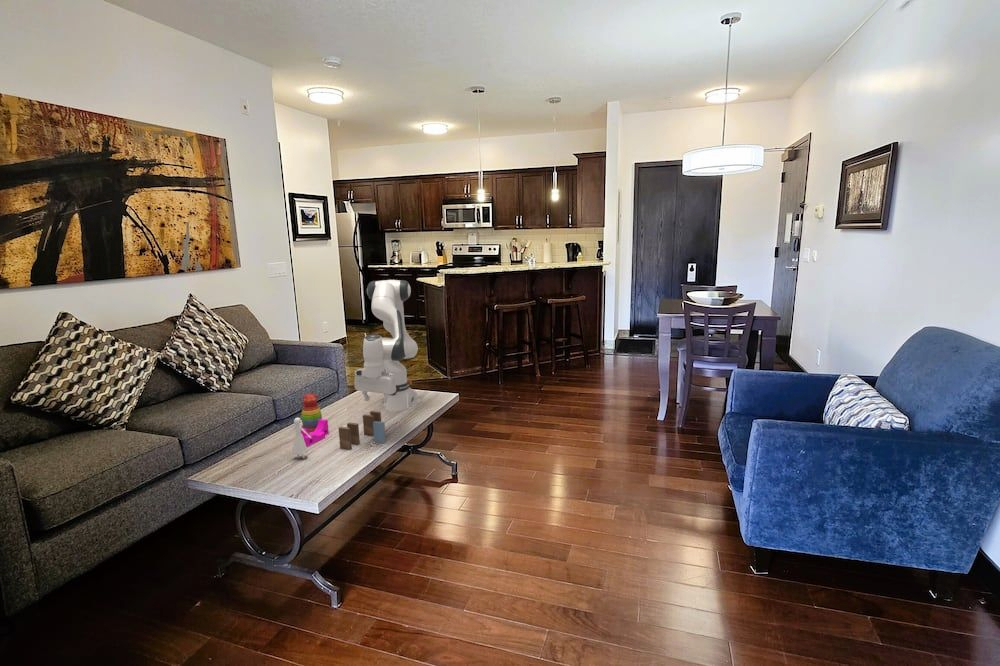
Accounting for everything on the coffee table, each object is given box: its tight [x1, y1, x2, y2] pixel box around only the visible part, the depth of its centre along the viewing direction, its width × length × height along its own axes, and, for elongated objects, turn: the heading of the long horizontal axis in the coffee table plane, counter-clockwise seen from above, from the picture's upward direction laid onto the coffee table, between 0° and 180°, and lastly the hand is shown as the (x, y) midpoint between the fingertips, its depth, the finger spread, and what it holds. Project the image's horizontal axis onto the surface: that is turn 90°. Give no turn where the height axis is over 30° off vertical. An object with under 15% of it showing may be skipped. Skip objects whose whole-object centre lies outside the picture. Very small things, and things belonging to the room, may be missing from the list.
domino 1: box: [338, 426, 353, 451], centre depth 208 cm, size 2×5×10 cm, turn 68°
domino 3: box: [362, 414, 374, 437], centre depth 223 cm, size 2×5×10 cm, turn 68°
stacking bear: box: [300, 393, 323, 433], centre depth 232 cm, size 11×10×18 cm
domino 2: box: [346, 422, 361, 446], centre depth 213 cm, size 2×5×10 cm, turn 68°
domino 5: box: [373, 421, 387, 444], centre depth 214 cm, size 2×5×10 cm, turn 68°
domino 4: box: [369, 410, 382, 422], centre depth 228 cm, size 2×5×10 cm, turn 68°
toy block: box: [301, 418, 330, 448], centre depth 220 cm, size 15×6×8 cm, turn 155°
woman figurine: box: [286, 417, 311, 459], centre depth 199 cm, size 12×4×18 cm, turn 79°
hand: (375, 401), depth 212 cm, fingers open, 8 cm apart
